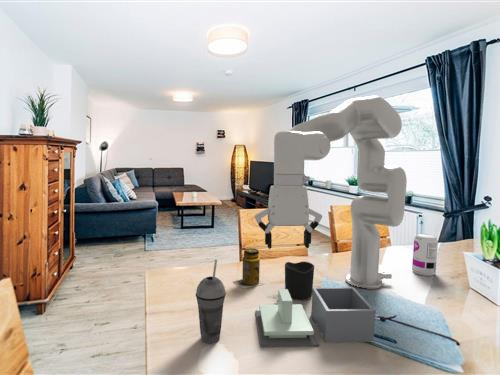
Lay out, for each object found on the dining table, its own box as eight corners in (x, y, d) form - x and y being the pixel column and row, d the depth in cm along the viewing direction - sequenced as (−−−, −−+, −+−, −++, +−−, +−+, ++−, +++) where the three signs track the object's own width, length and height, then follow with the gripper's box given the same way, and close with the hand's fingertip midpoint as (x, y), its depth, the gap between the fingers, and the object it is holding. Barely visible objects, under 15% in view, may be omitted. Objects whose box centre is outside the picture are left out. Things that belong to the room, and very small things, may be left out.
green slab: (301, 312, 92) (302, 284, 91) (313, 340, 78) (314, 307, 77) (259, 313, 91) (259, 284, 90) (264, 341, 77) (265, 307, 76)
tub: (352, 313, 93) (353, 287, 92) (373, 341, 79) (375, 310, 78) (311, 314, 92) (312, 287, 91) (325, 342, 78) (326, 311, 77)
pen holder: (306, 304, 98) (307, 272, 97) (279, 296, 103) (279, 266, 102) (317, 293, 106) (318, 264, 105) (291, 286, 111) (292, 258, 110)
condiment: (264, 284, 113) (264, 251, 112) (243, 289, 108) (244, 254, 107) (252, 277, 119) (253, 246, 118) (233, 282, 114) (233, 249, 113)
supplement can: (413, 274, 125) (415, 237, 124) (411, 267, 133) (413, 232, 131) (436, 277, 122) (439, 239, 120) (433, 270, 130) (436, 234, 128)
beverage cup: (196, 331, 82) (196, 255, 80) (225, 330, 82) (226, 254, 81) (194, 348, 75) (194, 265, 73) (225, 347, 75) (226, 264, 73)
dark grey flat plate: (303, 311, 93) (303, 310, 93) (319, 346, 76) (319, 344, 76) (255, 312, 92) (255, 310, 92) (260, 347, 75) (260, 345, 75)
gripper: (318, 179, 85) (317, 242, 87) (253, 179, 84) (253, 243, 86) (326, 182, 77) (325, 250, 79) (255, 182, 76) (255, 252, 78)
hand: (287, 246), depth 83 cm, fingers open, 9 cm apart
